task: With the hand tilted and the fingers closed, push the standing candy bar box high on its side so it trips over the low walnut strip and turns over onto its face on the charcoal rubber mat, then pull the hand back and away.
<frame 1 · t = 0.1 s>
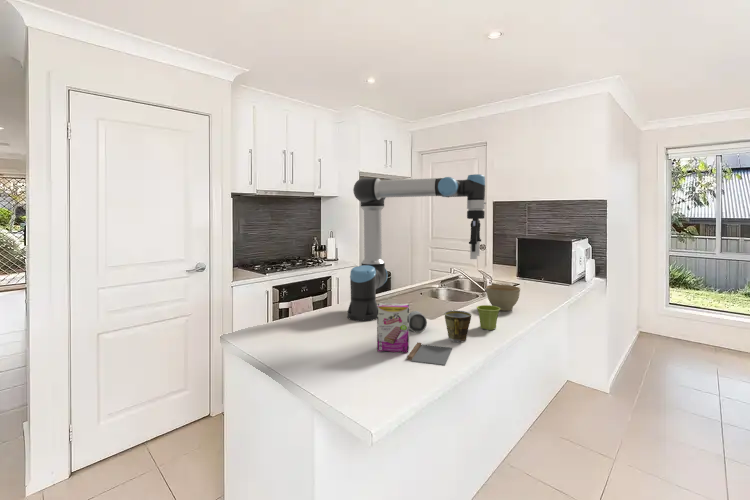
hand: (475, 257, 170), 28 cm above the worktop, tool pointing down, fingers open, 13 cm apart
ceramic cup: (457, 341, 143), on the worktop
planter bowl: (502, 309, 189), on the worktop
plant pot: (487, 328, 158), on the worktop
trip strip: (414, 352, 131), on the worktop
ceramic mug: (413, 330, 157), on the worktop
candy bar box: (393, 350, 134), on the worktop
mat: (432, 354, 129), on the worktop
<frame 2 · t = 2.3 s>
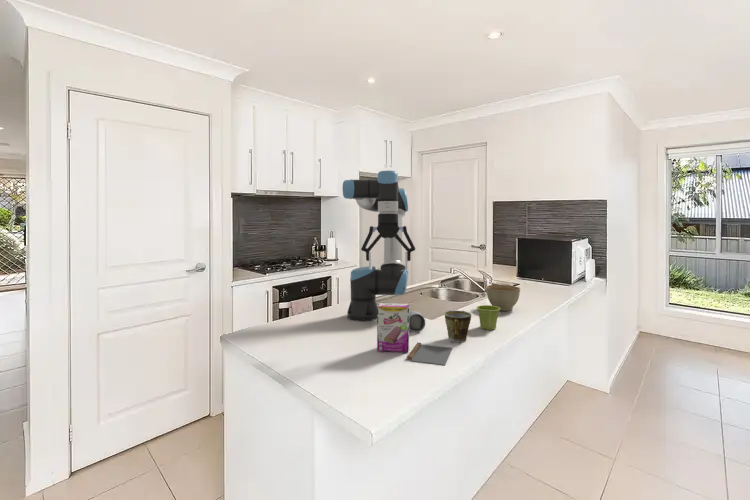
hand: (388, 269, 143), 27 cm above the worktop, tool pointing down, fingers open, 13 cm apart
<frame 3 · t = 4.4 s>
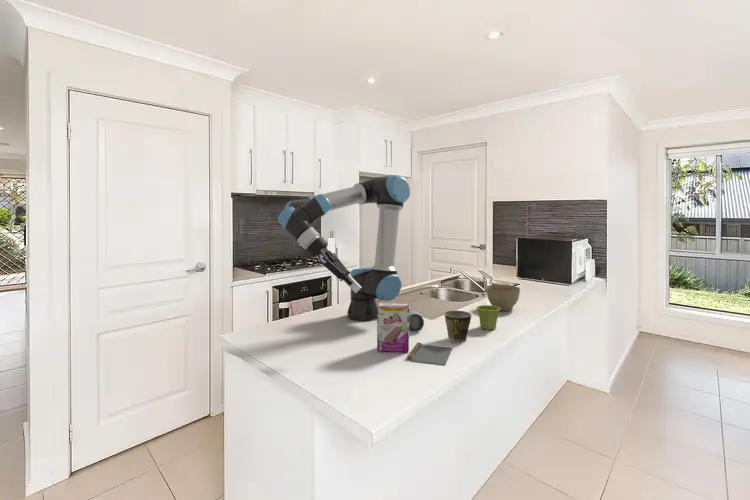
hand: (358, 290, 134), 21 cm above the worktop, tool tilted 45°, fingers closed
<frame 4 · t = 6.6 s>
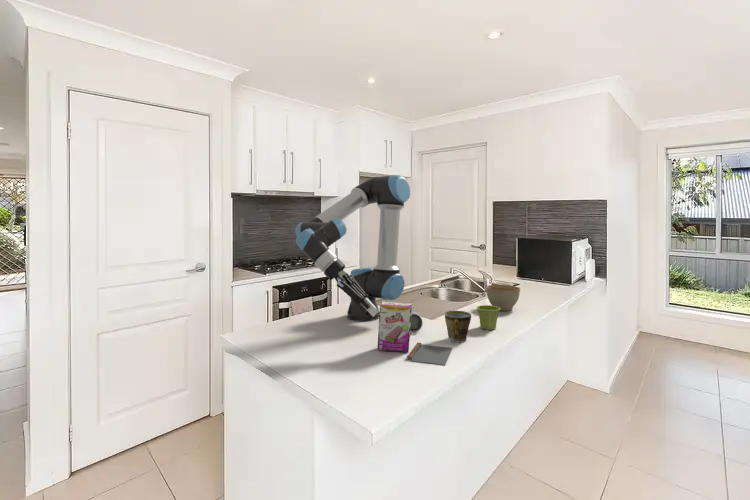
hand: (376, 313, 133), 13 cm above the worktop, tool tilted 45°, fingers closed
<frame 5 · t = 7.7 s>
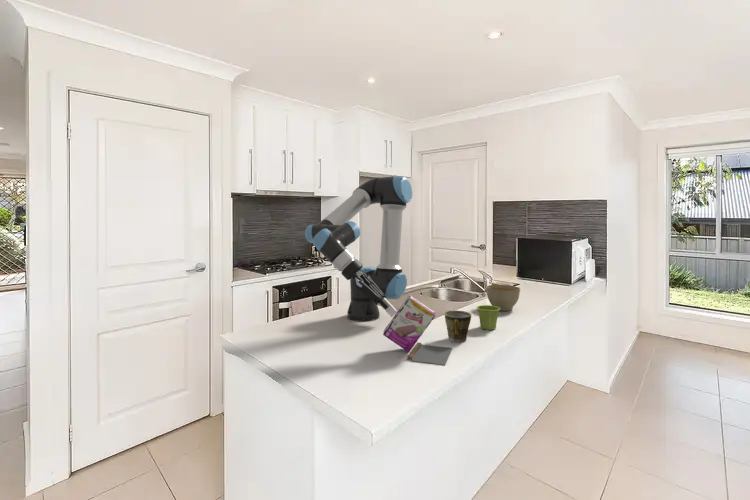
hand: (394, 314, 132), 13 cm above the worktop, tool tilted 45°, fingers closed
candy bar box: (395, 342, 133), point 3 cm above the worktop, touching gripper
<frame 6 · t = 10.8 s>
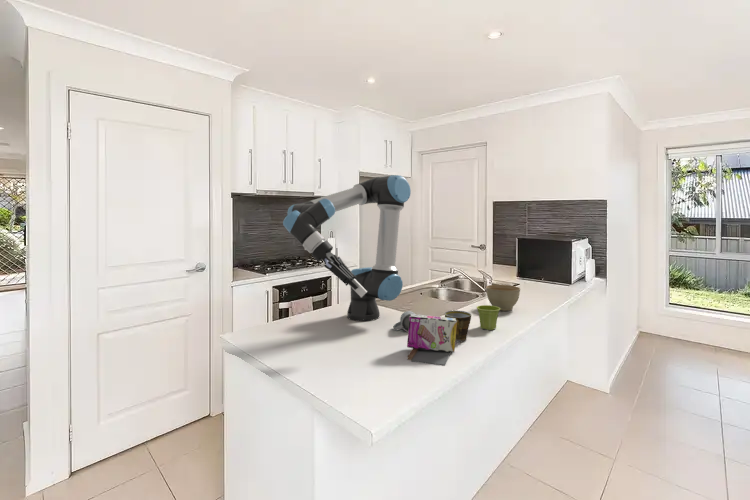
hand: (364, 294, 134), 20 cm above the worktop, tool tilted 45°, fingers closed
candy bar box: (407, 330, 133), point 7 cm above the worktop, touching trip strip
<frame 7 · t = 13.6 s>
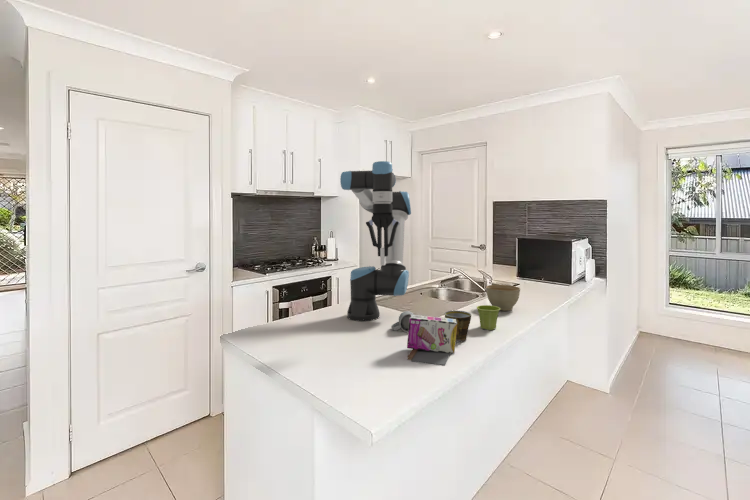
hand: (383, 264, 146), 28 cm above the worktop, tool pointing down, fingers closed
candy bar box: (407, 331, 132), point 7 cm above the worktop, touching mat, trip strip
at the end: candy bar box tilted 94°; candy bar box inside the target area (6.2 cm from its centre), point 6.9 cm above the worktop; the gripper is holding nothing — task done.
